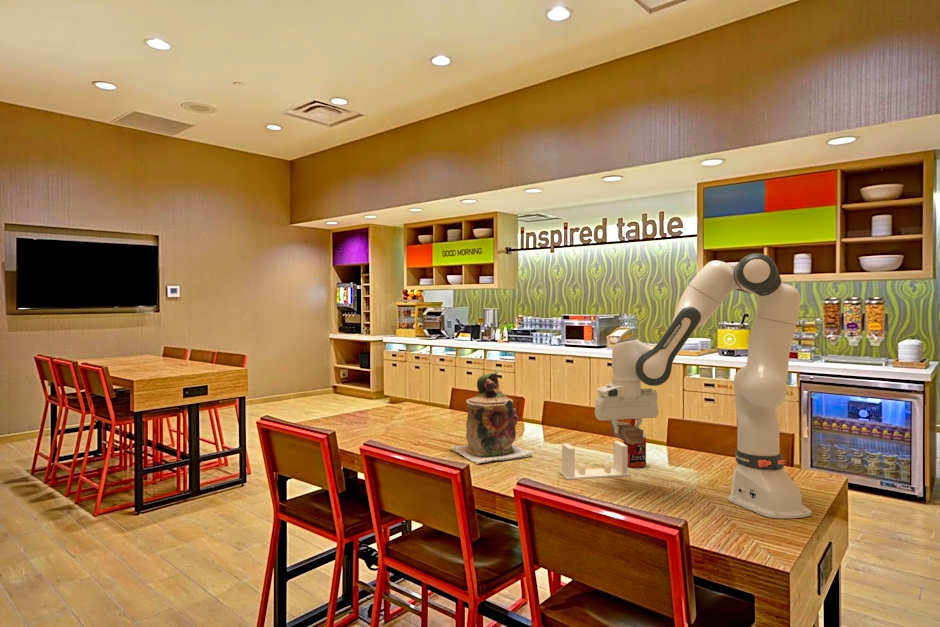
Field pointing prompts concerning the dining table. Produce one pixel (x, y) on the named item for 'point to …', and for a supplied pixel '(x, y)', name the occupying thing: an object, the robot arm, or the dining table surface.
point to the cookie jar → (490, 425)
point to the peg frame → (607, 471)
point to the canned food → (637, 454)
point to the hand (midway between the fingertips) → (626, 432)
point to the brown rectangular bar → (628, 433)
